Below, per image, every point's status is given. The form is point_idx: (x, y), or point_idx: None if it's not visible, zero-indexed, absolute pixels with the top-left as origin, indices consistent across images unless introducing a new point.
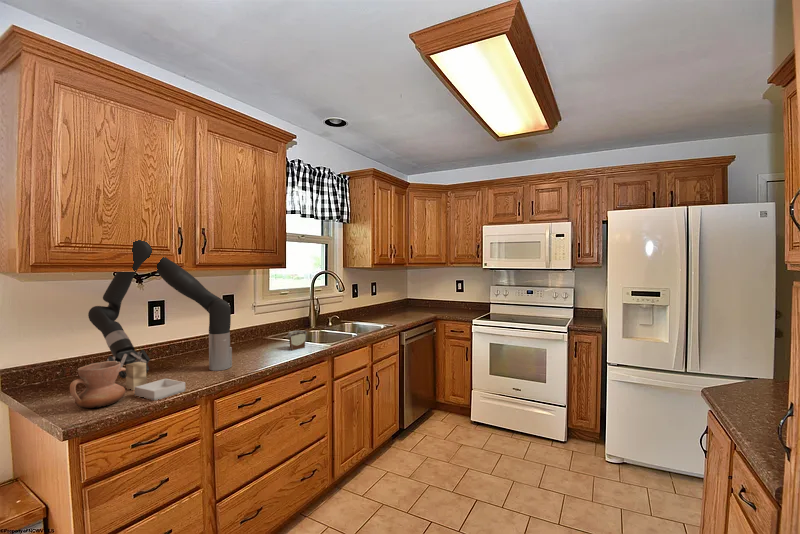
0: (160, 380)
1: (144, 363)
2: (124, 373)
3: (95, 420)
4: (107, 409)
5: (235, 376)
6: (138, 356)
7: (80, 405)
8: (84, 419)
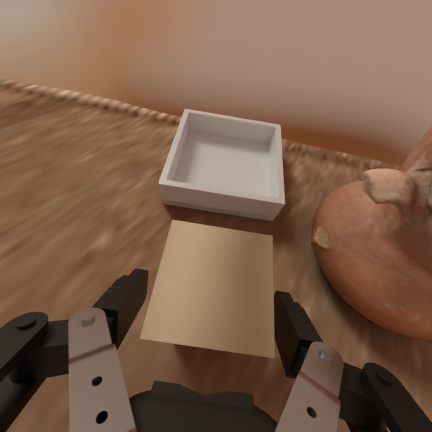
0: (186, 183)
1: (186, 222)
2: (290, 300)
3: None
4: None
5: (32, 97)
6: (83, 390)
7: None
8: None
